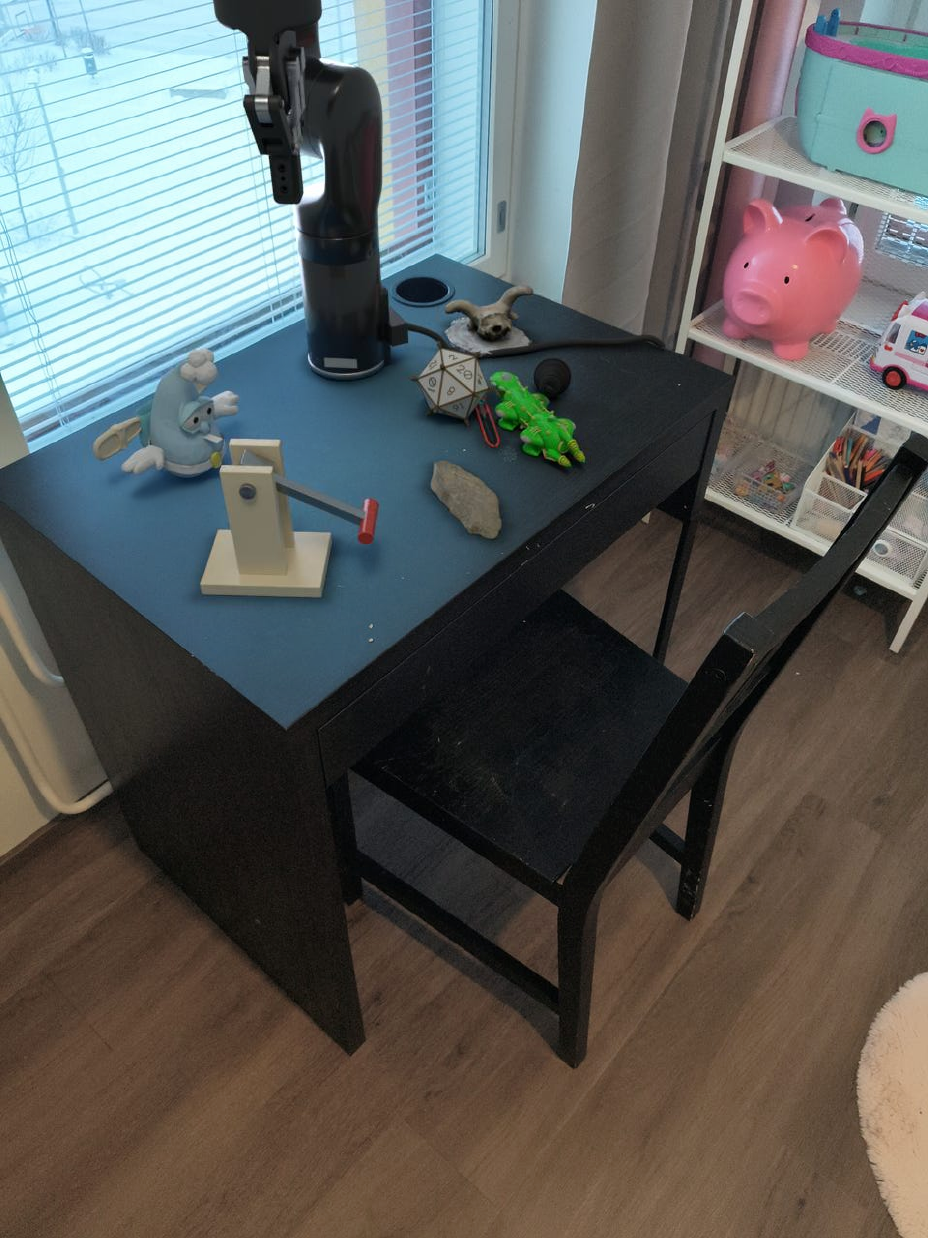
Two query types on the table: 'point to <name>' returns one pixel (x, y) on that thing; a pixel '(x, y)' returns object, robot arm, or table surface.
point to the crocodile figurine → (534, 420)
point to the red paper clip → (484, 410)
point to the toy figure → (175, 423)
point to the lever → (322, 499)
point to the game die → (453, 383)
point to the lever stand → (262, 534)
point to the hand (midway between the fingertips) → (289, 200)
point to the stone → (467, 499)
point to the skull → (487, 324)
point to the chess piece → (552, 377)
